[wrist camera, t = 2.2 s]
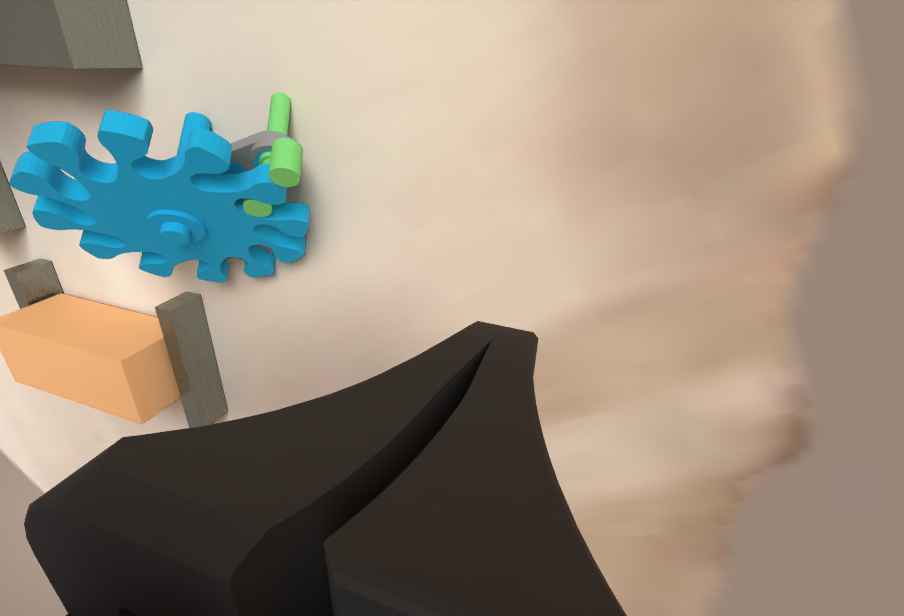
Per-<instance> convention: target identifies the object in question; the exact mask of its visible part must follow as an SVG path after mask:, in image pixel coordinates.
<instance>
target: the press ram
mask: <svg viewBox="0 0 904 616" xmlns="http://www.w3.org/2000/svg"><path fill="white" fill-rule="evenodd" d="M0 350H1V352H2V355H3V357H4V359H5V361H6V363H7V365H8V367H9V369H10V371H11V373H12V375H13V378H14V380H15V381H16V382H19V383H22V384H25V385H28V386H31V387H34V388H37V389H40V390H43V391H46V392H48V393H51V394H54V395H57V396H60V397H63V398H66V399H69V400H72V401H75V402H78V403H81V404H84V405H87V406H90V407H93V408H96V409H98V410H101V411H104V412H107V413H110V414H113V415H116V416H119V417H122V418H125V419H128V420H131V421H134V422H137V423H140V424H143V423H145V422H146V421H148V420H149V419H150V418H152V417H153V416H155V415H156V414H157V413H159V412H160V411H162V410H163V409H164V408H166V407H167V406H169V405H170V404H171V403H173V402H174V401H176V400H177V399H178V398H180V397H181V396H180V393H179V389H178V386H177V383H176V379H175V376H174V372H173V369H172V365H171V362H170V358H169V355H168V351H167V348H166V344H165V341H164V337H163V334H162V330H161V327H160V323H159V320H158V318H157V317H153V316H149V315H145V314H141V313H137V312H133V311H129V310H125V309H121V308H117V307H113V306H109V305H105V304H101V303H97V302H93V301H89V300H85V299H81V298H77V297H73V296H69V295H65V294H58V295H56V296H53V297H50V298H48V299H45V300H43V301H40V302H38V303H35V304H33V305H30V306H28V307H25V308H22V309H20V310H17V311H15V312H12V313H10V314H7V315H5V316H2V317H0Z"/></svg>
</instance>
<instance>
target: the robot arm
mask: <svg viewBox="0 0 904 616" xmlns="http://www.w3.org/2000/svg"><path fill="white" fill-rule="evenodd" d="M537 344H538V338H537V336H536V335H535V334H534V332H529V331H524V330H519V329H514V328H509V327H504V326H499V325H494V324H490V323H485V322H480V321H477V322H475V323H473V324H471V325H469V326H468V327H466V328H464V329H463V330H461V331H459V332H458V333H456V334H454V335H453V336H451V337H449V338H447V339H446V340H444V341H442V342H441V343H439V344H437V345H435V346H433V347H432V348H430V349H428V350H426V351H425V352H423V353H421V354H419V355H417V356H416V357H414V358H412V359H410V360H408V361H406V362H404V363H401V364H399V365H397V366H395V367H393V368H391V369H389V370H387V371H385V372H383V373H381V374H379V375H377V376H375V377H373V378H370V379H368V380H365V381H363V382H361V383H358V384H356V385H353V386H350V387H348V388H345V389H343V390H340V391H337V392H335V393H332V394H329V395H326V396H323V397H319V398H316V399H313V400H309V401H306V402H303V403H299V404H296V405H293V406H289V407H286V408H283V409H279V410H276V411H272V412H268V413H263V414H259V415H255V416H251V417H246V418H242V419H237V420H232V421H227V422H222V423H217V424H212V425H206V426H200V427H194V428H187V429H180V430H173V431H166V432H160V433H153V434H146V435H138V436H130V437H123V438H121V439H120V440H119V441H117V442H116V443H114V444H113V445H112V446H110V447H109V448H107V449H106V450H105V451H103V452H102V453H100V454H99V455H98V456H96V457H95V458H94V459H92V460H91V461H89V462H88V463H87V464H85V465H84V466H82V467H81V468H80V469H78V470H77V471H76V472H74V473H73V474H71V475H70V476H69V477H67V478H66V479H64V480H63V481H62V482H60V483H59V484H57V485H56V486H55V487H53V488H52V489H51V490H49V491H48V492H46V493H45V494H44V495H42V496H41V497H39V498H38V499H37V500H35V501H34V502H33V503H31V504H30V505H29V508H28V511H27V514H26V518H25V523H24V526H25V531H26V537H27V540H28V542H29V544H30V546H31V548H32V550H33V552H34V555H35V557H36V558H37V560H38V562H39V563H40V565H41V567H42V568H43V570H44V572H45V574H46V576H47V577H48V579H49V581H50V583H51V584H52V586H53V588H54V590H55V591H56V593H57V595H58V596H59V598H60V600H61V601H62V603H63V605H64V607H65V609H66V610H67V612H68V614H67V615H66V616H626V614H625V612H624V611H623V609H622V607H621V606H620V604H619V602H618V601H617V599H616V597H615V595H614V594H613V592H612V590H611V589H610V587H609V585H608V584H607V582H606V580H605V578H604V576H603V575H602V573H601V571H600V569H599V567H598V566H597V564H596V562H595V560H594V558H593V556H592V554H591V553H590V551H589V549H588V547H587V545H586V543H585V541H584V539H583V537H582V535H581V533H580V531H579V529H578V527H577V525H576V522H575V520H574V518H573V515H572V513H571V511H570V508H569V506H568V504H567V501H566V499H565V497H564V495H563V492H562V490H561V488H560V485H559V483H558V480H557V478H556V475H555V472H554V469H553V466H552V463H551V460H550V458H549V454H548V451H547V448H546V444H545V441H544V437H543V433H542V429H541V425H540V421H539V416H538V411H537V406H536V399H535V393H534V382H533V374H534V367H535V359H536V352H537Z"/></svg>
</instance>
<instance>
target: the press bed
mask: <svg viewBox="0 0 904 616" xmlns="http://www.w3.org/2000/svg"><path fill="white" fill-rule="evenodd" d="M0 64H3V65H20V66H37V67H54V68H71V69H87V68H142V64H141V60H140V56H139V52H138V48H137V43H136V39H135V35H134V31H133V27H132V22H131V18H130V14H129V10H128V6H127V2H126V0H0ZM23 227H25V225H24V222H23V220H22V217H21V214H20V212H19V209H18V207H17V204H16V202H15V199H14V197H13V194H12V192H11V189H10V187H9V184H8V181H7V179H6V176H5V174H4V171H3V169H2V166H1V164H0V233H4V232H8V231H12V230H16V229H19V228H23ZM4 272H5V275H6V277H7V279H8V282H9V284H10V286H11V289H12V291H13V293H14V295H15V298H16V300H17V302H18V305H19V307H20V309H22V308H25V307H28V306H30V305H33V304H35V303H38V302H40V301H43V300H45V299H48V298H50V297H53V296H56V295H58V294H64V293H63V291H62V288H61V286H60V283H59V280H58V278H57V275H56V272H55V270H54V267H53V265H52V262H51V261H48V260H44V259H37V260H34V261H31V262H28V263H25V264H21V265H18V266H15V267H12V268H9V269H6V270H4ZM155 309H156V313H157V316H158V320H159V323H160V327H161V330H162V334H163V337H164V341H165V344H166V348H167V351H168V355H169V358H170V362H171V365H172V369H173V372H174V376H175V379H176V383H177V386H178V389H179V393H180V396H181V400H182V403H183V407H184V410H185V414H186V417H187V421H188V424H189V427H190V428H194V427H200V426H206V425H212V424H213V423H214V422H215V421H216V420H218V419H219V418H220V417H221V416H222V415H224V414H225V413H226V412H227V411H228V410H227V405H226V401H225V397H224V393H223V388H222V384H221V380H220V375H219V371H218V367H217V363H216V358H215V354H214V350H213V346H212V341H211V337H210V333H209V328H208V324H207V320H206V316H205V311H204V307H203V303H202V299H201V295H199V294H194V293H190V292H185V293H182V294H180V295H178V296H176V297H174V298H172V299H170V300H168V301H166V302H164V303H162V304H160V305H158V306H156V307H155Z"/></svg>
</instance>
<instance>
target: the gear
mask: <svg viewBox="0 0 904 616" xmlns="http://www.w3.org/2000/svg"><path fill="white" fill-rule="evenodd" d="M290 105H291V100H290V98H289V97H288V96H287V95H285V94H283V93H275V94H273V95H272V97H271V105H270V113H269V121H268V129H267V131H263V132H260V133H257V134H255V135H252V136H249V137H247V138H244V139H242V140H239V141H236V142H234V143H231V144H230V143H229V142H228V141H226V140H225V139H224V138H222V137H221V136H219V135H217V134H215V133H213V132H211V131H210V128H211V122H210V120H209V119H208V118H207V117H206V116H204V115H202V114H199V113H195V112H191V113H188V114H186V116H185V120H184V124H183V129H182V133H181V138H180V143H179V147H178V152H177V156H175V157H172V158H170V159H167V160H154V159H151V158H148V157H146V156H145V155H146V154H147V153H148V149H149V145H150V141H151V137H152V133H153V127H152V125H151V123H150V122H149V120H147V119H144V118H142V117H139V116H136V115H132V114H128V113H124V112H119V111H112V110H106V111H105V112H104V115H103V118H102V122H101V125H100V128H99V132H98V139H99V141H100V143H101V144H102V145H103V146H104V147H105V148H106V149H107V150H108V151H109V152H110V153H111V154H112V156H113V157H114V159H115V161H116V162H117V163H115V164H109V163H104V162H101V161H98V160H96V159H94V158H92V157H91V156H90V155H89V154H88V153H87V152H86V150H85V143H86V138H85V136H84V134H83V133H82V132H81V131H80V130H79V129H78V128H77V127H75V126H74V125H72V124H70V123H68V122H47V123H42V124H38V125H35V126H34V128H33V130H32V133H31V136H30V138H29V141H28V144H27V148H28V150H29V151H30V152H26V153H24V154H22V155H21V156H20V157H19V159H18V161H17V164H16V166H15V169H14V171H13V174H12V177H11V179H10V182H9V185H10V186H12V187H13V188H16V189H18V190H20V191H22V192H25V193H29V194H33V195H38V198H37V201H36V204H35V206H34V209H33V216H34V218H35V220H36V221H37V222H38V224H39V225H40V226H42V227H45V228H49V229H54V230H67V229H78V230H83V234H82V237H81V241H80V244H79V246H80V247H81V248H82V249H84V250H85V251H87V252H88V253H90V254H92V255H94V256H95V257H97V258H101V259H111V258H114V257H115V256H117V255H119V254H122V253H127V252H142V256H141V261H140V265H139V269H141V270H143V271H146V272H148V273H152V274H155V275H158V276H162V277H167V276H170V275H171V274H172V271H173V267H174V266H175V265H177V264H178V263H181V262H184V261H187V260H199V265H198V271H197V277H198V278H199V279H202V280H207V281H214V282H226V281H227V277H228V270H229V262H228V261H227V260H226V259H225V258H228V257H236V258H241V259H243V260H245V266H244V272H245V274H247V275H248V276H250V277H264V276H271V275H273V274H274V265H275V257H276V258H277V259H278V260H280V261H283V262H287V263H289V262H293V261H296V260H298V259H300V258H301V257H303V256H304V254H305V241H306V239H305V238H304V236H305V235H306V233H307V230H308V221H309V206H307V205H305V204H302V203H295V202H293V203H285V202H286V194H287V187H293V186H296V185H298V184H299V182H300V176H301V165H302V153H303V149H302V146H301V145H300V144H299V143H298V142H297V141H295V140H293V139H292V138H290V137H289V136H287V134H288V124H289V115H290ZM60 169H62V170H64V171H65V172H67V173H69V174H70V175H72V176H73V177H74V178H75V179H77V180H75V179H72V178H70V177H68V176H67V175H65V174H64V173H63V172H62V171H61V170H60ZM273 226H274V227H273ZM275 227H276V228H275ZM277 228H278V229H277ZM257 245H263V246H266V247H269V248H270V249H271V250H272V251H273V253H274V256H275V257H274V256H273V255H272V254H271V253H268V252H266V251H264V250H263V249H261V248H260V247H258V246H257Z"/></svg>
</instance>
